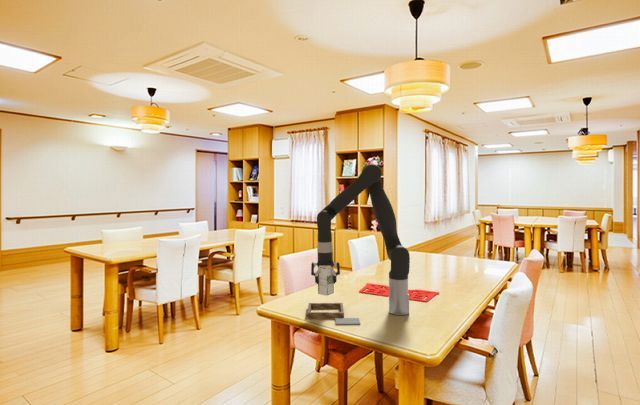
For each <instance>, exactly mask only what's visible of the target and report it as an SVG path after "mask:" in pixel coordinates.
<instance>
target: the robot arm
mask: <svg viewBox="0 0 640 405" xmlns="http://www.w3.org/2000/svg"><path fill="white" fill-rule="evenodd" d="M366 189H367V191H368V194H369V197H370V201H371V206H372V210H373V214H374V216H375V219H376V220H375V221H376V223H377V226H378V228H379V231H380V233H381V235H382V238H383V241H384V245H385V251H386V254H387V258H388V260H389V261H390V270H389V272H388V286H389V297H388V313H389V314H392V315H394V316H405V315H410V300H409V296H410V295H409V294H408V290H409V273H410V263H411V262H410V259H411V257H410V252H409V250H408V248H406V247H405V246H403V245H402V242H401V241H400V240H401V239H400V238H399V234H398V231H397V227H398V226H397V219H396V214H395V211H394V209H393V206H392V204H391V201H390V199H389V197H388V195H387V194H386V192H385V190H384V186H383V182H382V169H381V167H380V166H379V165H377V164H376V163H369V164H366V165H365V166H364V167H363V168H362V170H361V173H360V174H359V176H357V178H356V179H355V180H354V181H353V182H352V183H351V184H350V185H349V186H347V187H346V188H344V189H343V190H342V191H341V192H339V194H337V195H336V196H335V197H334V198H333V199H332V200H331V201H330V203H329V204H327V205H326V206H325V207H323V209H322V210H320V211H319V212H318V213H317V215H316V227H317V245H316V248H317V262H313V261H312V262H311V266H310V267H311V270H310V271H311V272H310V274H311V276H314V282H315V284H316V285H318V274H319V273H320V272H321V267H320V269H319V270H320V271H319V270H318V269H317V270H316V271H315V268H316V266H317V268H318V267H319V265H322V266H324V265H327V266H331V267H330V271H331V272H332V273H333V275H334V284H336V283H337V282H338V281H337V276H339V275H341V268H340V262H339V261H337V262H334V257H333V256H334V253H333V252H334V249H333V237H332V236H333V234H332V220H333V219H334V218H335V217H336V216H337V215H338V214H340V213H341V212H342V211H344V209H346V208H347V207H348V206H350V205H351V203H352V202H353V201H354V200H355V199H356V198H357V197H358V196H359V195H360V194H361V193H363V192H364V191H365V190H366ZM333 266H335V267H336V271H335V269H334V270H332V267H333Z"/></svg>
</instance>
